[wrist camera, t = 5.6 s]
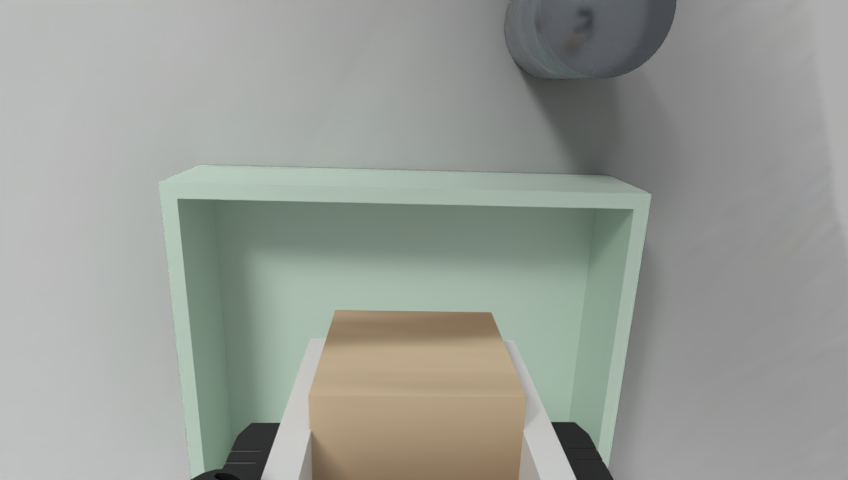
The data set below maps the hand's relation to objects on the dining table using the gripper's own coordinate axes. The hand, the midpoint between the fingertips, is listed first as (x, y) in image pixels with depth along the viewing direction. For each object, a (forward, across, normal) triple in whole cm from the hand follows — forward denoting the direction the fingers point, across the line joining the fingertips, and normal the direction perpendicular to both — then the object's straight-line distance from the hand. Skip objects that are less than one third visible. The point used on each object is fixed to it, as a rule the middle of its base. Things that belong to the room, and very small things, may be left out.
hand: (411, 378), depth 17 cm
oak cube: (0, 0, 0) cm, 1 cm away
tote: (+13, 0, -4) cm, 13 cm away
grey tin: (+13, +7, +12) cm, 19 cm away
